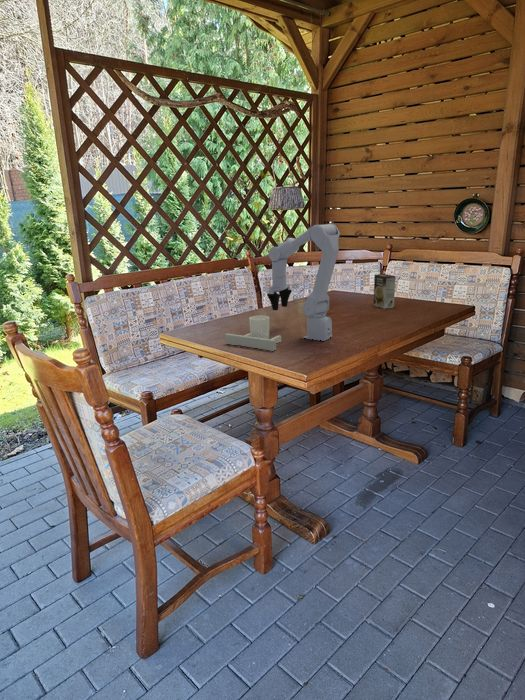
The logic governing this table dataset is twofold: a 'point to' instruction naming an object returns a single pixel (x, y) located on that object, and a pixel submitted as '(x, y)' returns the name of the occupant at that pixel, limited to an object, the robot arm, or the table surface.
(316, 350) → the table surface
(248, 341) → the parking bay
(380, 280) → the coffee box
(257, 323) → the white cup
